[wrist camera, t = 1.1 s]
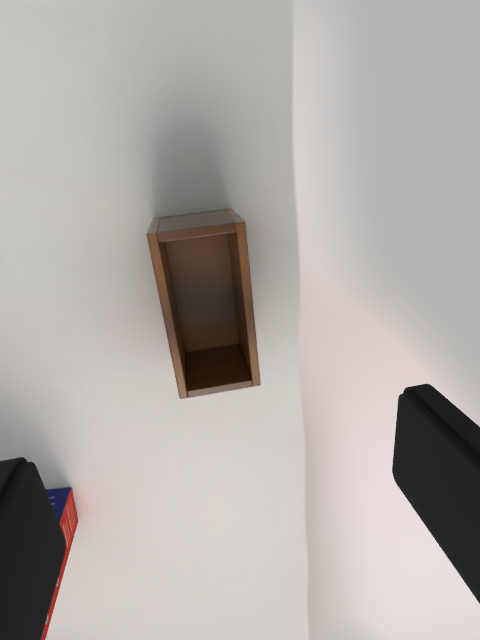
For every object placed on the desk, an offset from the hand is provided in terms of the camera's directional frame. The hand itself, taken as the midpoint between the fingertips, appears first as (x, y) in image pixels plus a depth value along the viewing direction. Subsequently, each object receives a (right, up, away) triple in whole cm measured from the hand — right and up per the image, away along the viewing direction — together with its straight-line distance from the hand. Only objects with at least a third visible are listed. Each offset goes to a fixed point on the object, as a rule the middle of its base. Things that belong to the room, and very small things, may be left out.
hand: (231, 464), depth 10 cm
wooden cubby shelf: (-2, +6, +16) cm, 18 cm away
